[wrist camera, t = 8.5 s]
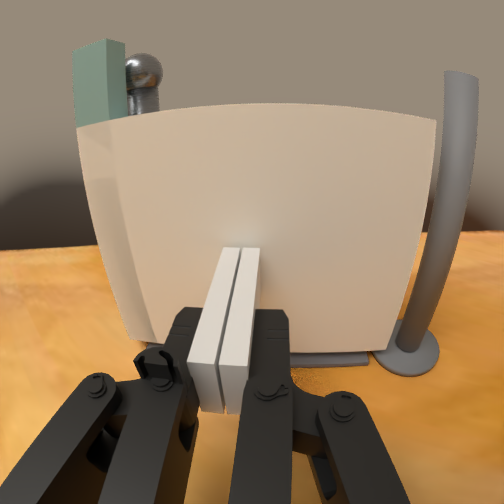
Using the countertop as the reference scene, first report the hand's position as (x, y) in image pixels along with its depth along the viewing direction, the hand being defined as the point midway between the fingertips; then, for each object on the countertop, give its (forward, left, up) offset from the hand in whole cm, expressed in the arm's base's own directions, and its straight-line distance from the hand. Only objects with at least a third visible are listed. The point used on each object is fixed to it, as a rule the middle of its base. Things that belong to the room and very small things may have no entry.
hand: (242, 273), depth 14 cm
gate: (-2, -1, -6) cm, 6 cm away
